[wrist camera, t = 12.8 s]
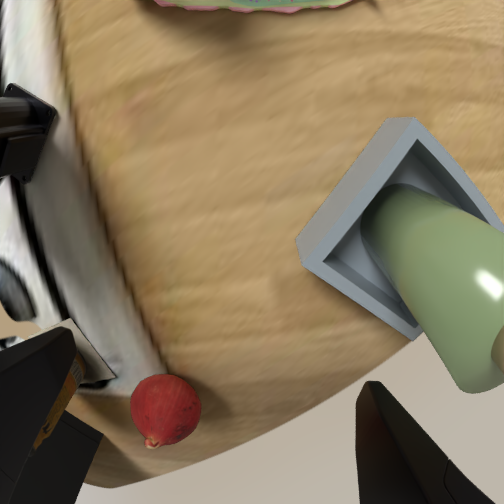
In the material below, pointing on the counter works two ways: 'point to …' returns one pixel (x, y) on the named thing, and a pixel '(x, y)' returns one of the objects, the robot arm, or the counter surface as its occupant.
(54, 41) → the counter surface
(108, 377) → the condiment
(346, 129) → the counter surface
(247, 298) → the counter surface
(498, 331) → the bottle
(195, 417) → the pomegranate
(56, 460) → the trash bin
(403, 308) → the tub
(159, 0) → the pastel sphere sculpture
